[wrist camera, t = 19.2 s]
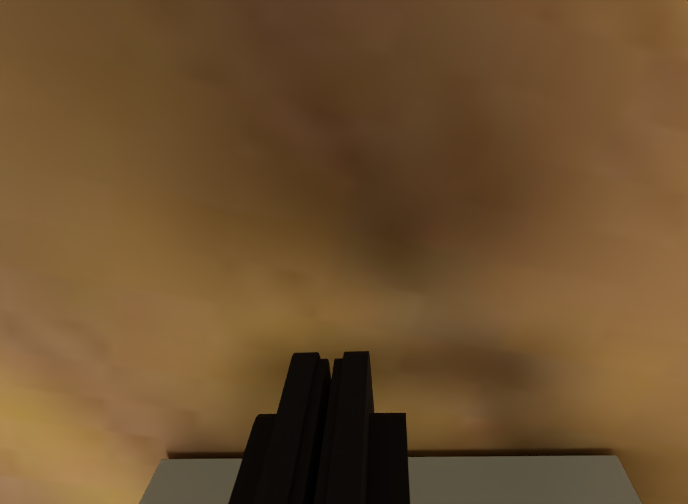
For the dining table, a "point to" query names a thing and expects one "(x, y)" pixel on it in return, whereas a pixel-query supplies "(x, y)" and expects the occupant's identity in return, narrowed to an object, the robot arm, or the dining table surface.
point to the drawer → (432, 480)
